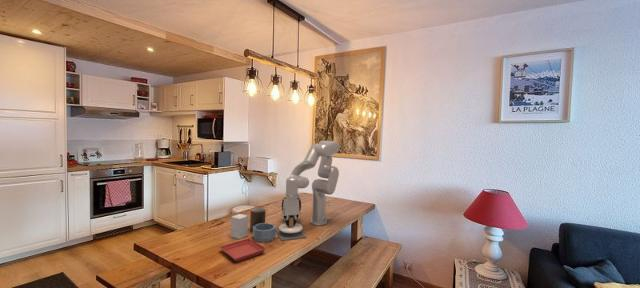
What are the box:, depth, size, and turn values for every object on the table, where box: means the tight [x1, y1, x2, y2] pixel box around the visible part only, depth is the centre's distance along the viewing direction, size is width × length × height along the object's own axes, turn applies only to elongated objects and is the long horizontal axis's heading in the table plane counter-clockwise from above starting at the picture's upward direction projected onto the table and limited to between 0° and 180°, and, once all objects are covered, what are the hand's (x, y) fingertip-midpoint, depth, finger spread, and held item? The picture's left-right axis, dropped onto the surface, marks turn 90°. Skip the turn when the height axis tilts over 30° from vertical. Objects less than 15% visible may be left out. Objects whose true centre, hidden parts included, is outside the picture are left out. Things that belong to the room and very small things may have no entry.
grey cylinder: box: [249, 207, 266, 233], centre depth 175 cm, size 10×10×15 cm
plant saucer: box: [219, 238, 266, 262], centre depth 143 cm, size 18×18×3 cm
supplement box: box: [230, 213, 249, 240], centre depth 164 cm, size 7×7×13 cm
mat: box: [276, 227, 308, 242], centre depth 172 cm, size 16×20×1 cm
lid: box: [278, 217, 303, 233], centre depth 171 cm, size 15×15×8 cm
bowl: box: [252, 222, 277, 243], centre depth 163 cm, size 13×13×7 cm
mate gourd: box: [281, 196, 302, 224], centre depth 193 cm, size 16×14×20 cm
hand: (290, 225), depth 171 cm, fingers closed on lid, 3 cm apart
